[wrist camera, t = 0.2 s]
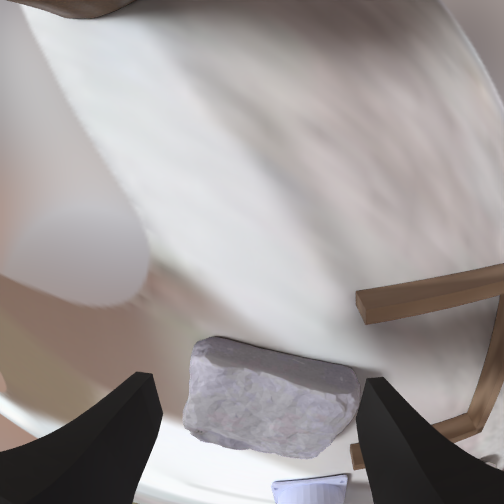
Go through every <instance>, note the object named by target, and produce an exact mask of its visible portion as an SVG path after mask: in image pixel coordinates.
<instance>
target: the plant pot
mask: <svg viewBox="0 0 504 504" xmlns="http://www.w3.org/2000/svg"><path fill="white" fill-rule="evenodd" d="M8 1H12V2H16V3H20V4H24V5H27V6H31V7H35V8H38V9H41V10H45V11H48V12H51V13H53V14H56V15H59V16H61V17H64V18H95V17H99V16H102V15H105V14H108V13H111V12H113V11H116V10H118V9H120V8H122V7H124V6H126V5H128V4H130V3H132V2H134V1H135V0H8Z"/></svg>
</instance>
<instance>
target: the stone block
mask: <svg viewBox="0 0 504 504" xmlns="http://www.w3.org/2000/svg"><path fill="white" fill-rule="evenodd" d="M189 371H190V375H191V377H190V381H189V384H190V388H189V396H188V400H187V402H186V405H185V407H184V410H183V425H184V427H185V429H187V430H189V431H190V434H191V435H193V436H195V437H196V438H198V439H199V440H200V441H203V442H208V443H214V444H218V445H221V446H222V447H225V448H230V449H236V450H246V449H252V450H256V451H259V452H265V453H275V454H278V455H281V456H284V457H290V458H300V459H310V458H314V457H317V455H319V453H320V452H322V451H323V450H324V449H325V448H326V447H328V446H329V445H331V443H332V441H333V440H334V438H335V437H336V435H338V434H339V433H340V432H342V431H343V430H344V428H345V427H346V426H347V425H348V424H349V423H350V421H351V420H352V419H353V417H354V416H355V414H356V411H357V410H358V408H359V404H360V383H359V382H358V380H357V377H356V374H355V372H354V371H353V370H352V369H351V368H349V367H347V366H344V365H339V364H334V363H328V362H323V361H318V360H313V359H308V358H304V357H298V356H294V355H290V354H285V353H280V352H276V351H273V350H266V349H261V348H257V347H254V346H251V345H248V344H244V343H240V342H236V341H232V340H229V339H224V338H219V337H209V338H206V339H203V340H201V341H198V342H197V343H196V344H195V345H194V347H193V351H192V355H191V362H190V370H189Z"/></svg>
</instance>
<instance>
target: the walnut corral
mask: <svg viewBox="0 0 504 504" xmlns="http://www.w3.org/2000/svg"><path fill="white" fill-rule="evenodd" d="M498 295H500V300H499V305H498V310H497V315H496V320H495V324H494V329H493V333H492V337H491V341H490V345H489V349H488V352H487V356H486V359H485V363H484V366H483V369H482V373H481V376H480V379H479V382H478V385H477V388H476V391H475V393H474V396H473V399H472V402H471V404H470V407H469V409H468V412H467V413H465V414H463V415H460V416H457V417H454V418H451V419H449V420H446V421H443V422H440V423H436V424H433V425H432V426H433V427H434V428H435V429H436V430H437V431H439V432H440V433H441V434H442V435H443V436H445V437H446V438H447V439H448V440H450V441H451V442H453V443H455V442H458V441H461V440H463V439H466V438H468V437H471V436H473V435H476V434H478V433H480V432H482V430H483V428H484V425H485V423H486V421H487V419H488V417H489V415H490V413H491V410H492V408H493V406H494V404H495V401H496V399H497V397H498V394H499V392H500V389H501V387H502V384H503V381H504V263H503V264H498V265H494V266H489V267H485V268H480V269H475V270H470V271H466V272H461V273H456V274H451V275H446V276H441V277H435V278H430V279H425V280H419V281H414V282H408V283H402V284H396V285H390V286H384V287H378V288H372V289H366V290H359V291H356V306H357V308H358V310H359V312H360V314H361V316H362V318H363V321H364V323H365V325H368V324H374V323H380V322H385V321H390V320H396V319H401V318H406V317H411V316H416V315H420V314H425V313H430V312H434V311H439V310H443V309H447V308H451V307H456V306H460V305H464V304H468V303H472V302H475V301H479V300H483V299H487V298H490V297H494V296H498ZM350 454H351V459H352V464H353V470H359V469H364V468H365V464H364V460H363V457H362V453H361V449H360V445H359V443H357V444H351V445H350Z"/></svg>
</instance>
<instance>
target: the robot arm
mask: <svg viewBox="0 0 504 504" xmlns="http://www.w3.org/2000/svg"><path fill="white" fill-rule="evenodd" d="M162 416H163V411H162V408H161V404H160V401H159V397H158V394H157V390H156V386H155V382H154V378H153V374H151V373H144V372H135V373H134V374H133V375H132V376H130V377H129V378H128V379H127V380H125V381H124V382H123V383H122V384H121V385H119V386H118V387H117V388H116V389H114V390H113V391H112V392H111V393H109V394H108V395H107V396H106V397H104V398H103V399H102V400H101V401H99V402H98V403H97V404H96V405H94V406H93V407H91V408H90V409H89V410H87V411H86V412H84V413H83V414H81V415H80V416H79V417H77V418H76V419H74V420H73V421H71V422H70V423H68V424H66V425H65V426H63V427H61V428H59V429H57V430H56V431H54V432H52V433H50V434H48V435H46V436H44V437H41V438H39V439H37V440H34V441H32V442H30V443H27V444H25V445H22V446H19V447H16V448H13V449H9V450H6V451H2V452H0V504H132V503H133V499H134V495H135V492H136V489H137V486H138V483H139V480H140V478H141V476H142V473H143V471H144V468H145V466H146V463H147V461H148V459H149V456H150V454H151V451H152V449H153V446H154V444H155V441H156V439H157V436H158V432H159V428H160V424H161V420H162ZM356 424H357V432H358V439H359V445H360V449H361V453H362V457H363V460H364V464H365V468H366V472H367V476H368V480H369V483H370V487H371V491H372V496H373V501H374V504H504V471H501V470H499V469H497V468H495V467H492V466H490V465H488V464H486V463H484V462H483V461H481V460H479V459H477V458H475V457H474V456H472V455H470V454H469V453H467V452H465V451H464V450H462V449H461V448H460V447H458V446H457V445H455V444H454V443H453V442H451V441H450V440H448V439H447V438H446V437H445V436H443V435H442V434H441V433H440V432H439V431H437V430H436V429H435V428H434V427H433V426H432V425H430V424H429V423H428V422H427V421H426V420H425V419H424V418H423V417H422V416H421V415H420V414H419V413H418V412H417V411H416V410H415V409H414V408H413V407H412V406H411V405H410V404H409V403H408V402H407V401H406V400H405V399H404V398H403V397H402V396H401V395H400V394H399V393H398V392H397V391H396V390H395V389H394V388H393V386H392V385H391V384H390V383H389V382H388V381H387V380H386V379H385V378H384V377H378V378H367V379H366V383H365V387H364V391H363V395H362V399H361V402H360V406H359V409H358V413H357V416H356ZM347 480H348V478H347V475H339V476H332V477H325V478H317V479H309V480H298V481H286V482H274V483H272V484H271V488H272V492H273V496H274V499H275V503H276V504H344V499H345V493H346V486H347Z"/></svg>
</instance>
